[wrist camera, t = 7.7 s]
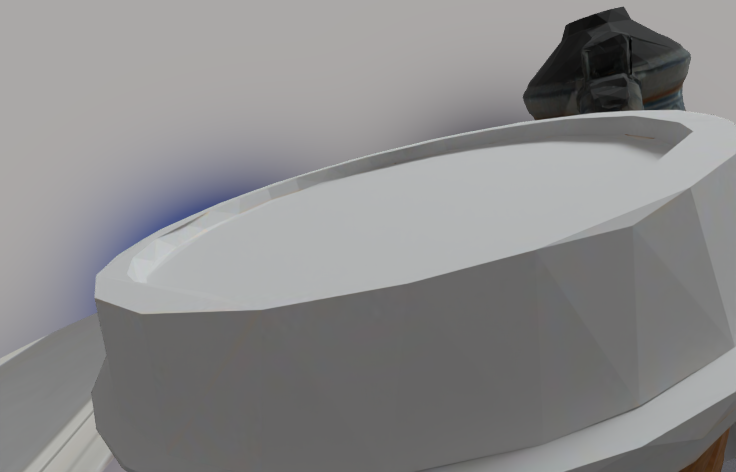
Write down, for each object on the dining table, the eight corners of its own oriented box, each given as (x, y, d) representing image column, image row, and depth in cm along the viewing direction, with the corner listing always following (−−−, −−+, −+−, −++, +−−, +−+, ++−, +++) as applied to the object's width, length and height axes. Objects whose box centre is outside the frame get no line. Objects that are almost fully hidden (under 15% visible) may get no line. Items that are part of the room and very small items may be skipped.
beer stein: (648, 241, 49) (630, 13, 42) (830, 318, 30) (851, -71, 23) (510, 277, 49) (470, 58, 43) (605, 373, 31) (561, 11, 24)
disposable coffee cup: (344, 1298, 5) (-483, 640, 2) (303, 544, 14) (167, 208, 11) (958, 904, 6) (1228, 54, 3) (554, 445, 15) (504, 115, 12)
